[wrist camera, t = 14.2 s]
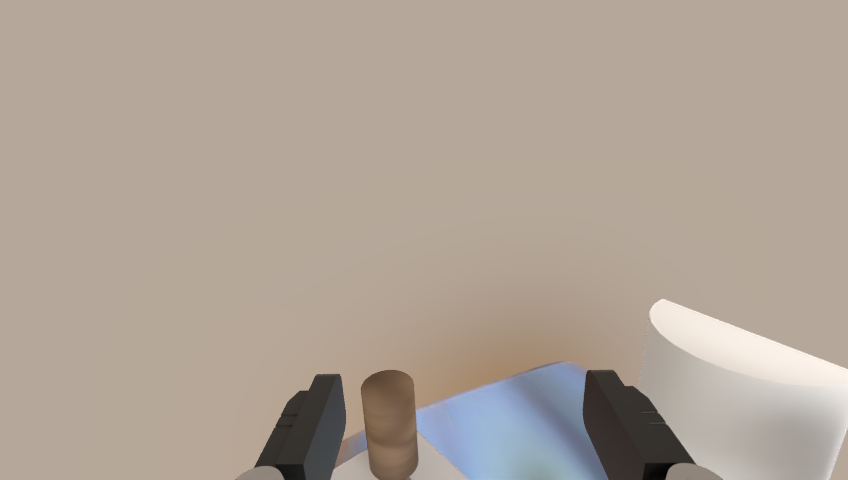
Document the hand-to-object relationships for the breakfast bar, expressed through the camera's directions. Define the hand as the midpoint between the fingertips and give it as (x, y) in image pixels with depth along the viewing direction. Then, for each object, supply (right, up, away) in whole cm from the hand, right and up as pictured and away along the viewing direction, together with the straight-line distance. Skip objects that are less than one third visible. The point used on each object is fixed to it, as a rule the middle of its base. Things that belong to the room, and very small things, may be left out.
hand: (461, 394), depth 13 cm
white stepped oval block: (+33, -31, +36) cm, 58 cm away
